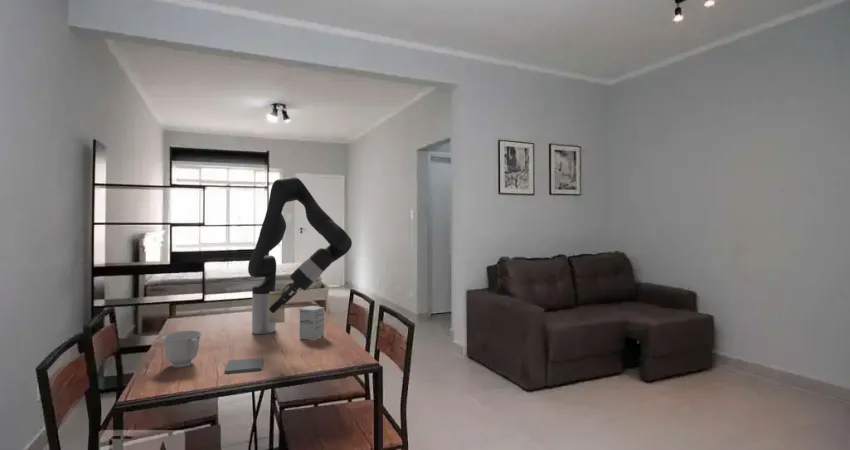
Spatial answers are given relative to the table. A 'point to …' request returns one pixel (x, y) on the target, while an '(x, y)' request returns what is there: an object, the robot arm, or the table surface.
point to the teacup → (181, 347)
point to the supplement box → (311, 322)
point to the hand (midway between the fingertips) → (271, 309)
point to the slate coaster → (244, 365)
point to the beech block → (280, 312)
